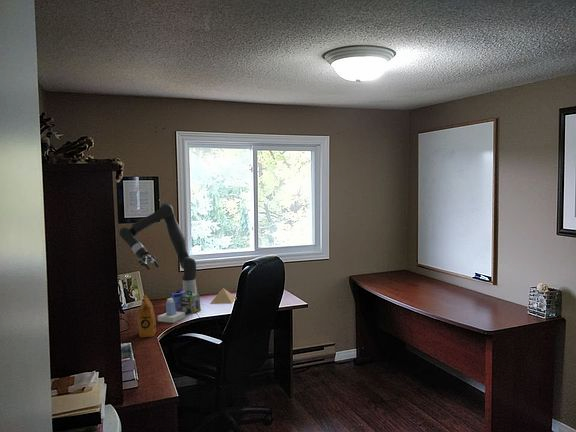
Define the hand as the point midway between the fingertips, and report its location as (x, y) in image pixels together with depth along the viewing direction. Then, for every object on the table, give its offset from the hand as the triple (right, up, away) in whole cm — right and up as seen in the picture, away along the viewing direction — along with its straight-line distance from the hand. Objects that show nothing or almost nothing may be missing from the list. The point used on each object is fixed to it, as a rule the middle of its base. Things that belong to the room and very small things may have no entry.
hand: (154, 267), depth 301 cm
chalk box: (+25, -30, +1) cm, 39 cm away
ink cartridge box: (+15, -30, +7) cm, 34 cm away
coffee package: (+9, -34, -43) cm, 55 cm away
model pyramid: (+43, -28, +27) cm, 58 cm away
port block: (+16, -31, -16) cm, 38 cm away
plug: (+16, -31, -16) cm, 38 cm away
